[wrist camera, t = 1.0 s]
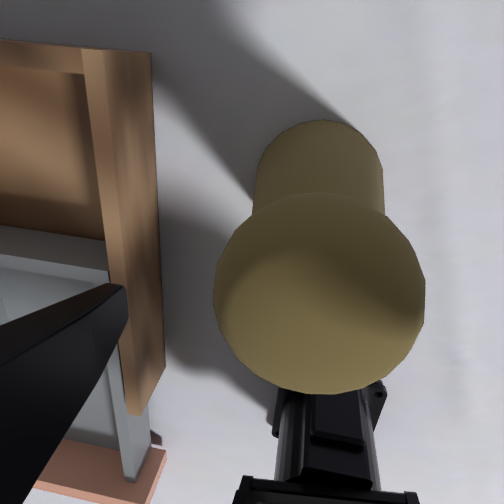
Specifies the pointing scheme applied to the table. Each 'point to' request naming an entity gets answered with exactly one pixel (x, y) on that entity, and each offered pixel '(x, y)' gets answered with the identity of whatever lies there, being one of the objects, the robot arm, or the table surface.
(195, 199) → the table surface
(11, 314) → the tray
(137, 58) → the brown wooden box
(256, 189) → the olive pawn figure
